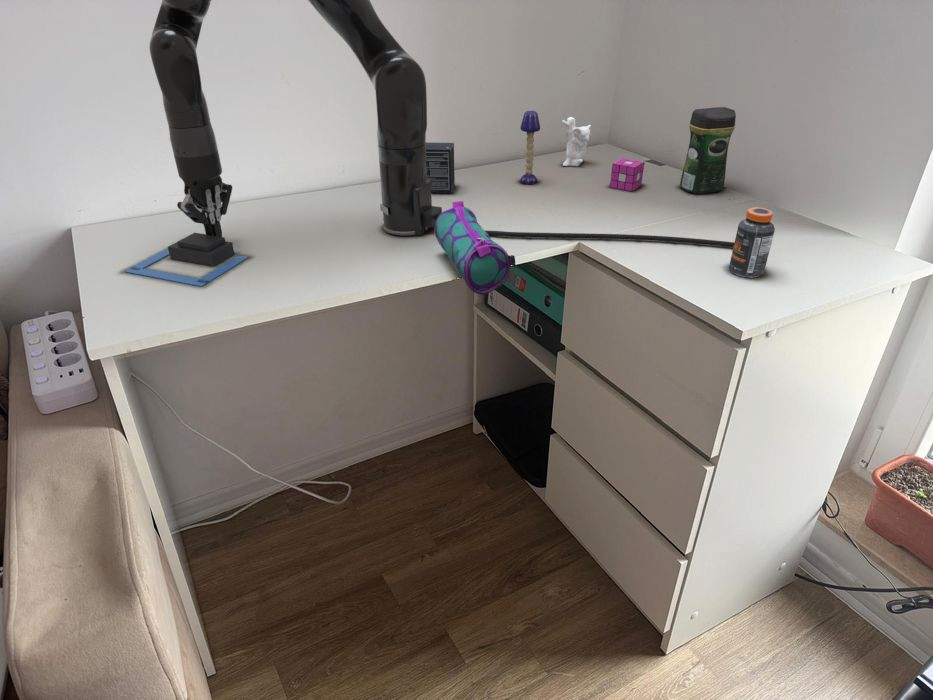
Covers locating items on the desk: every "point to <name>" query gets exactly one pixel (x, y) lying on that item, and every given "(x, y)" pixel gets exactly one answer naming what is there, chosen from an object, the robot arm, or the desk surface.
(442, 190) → the small box
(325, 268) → the desk surface
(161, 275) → the frame
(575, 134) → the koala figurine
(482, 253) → the pencil case
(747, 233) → the pill bottle
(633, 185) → the puzzle toy
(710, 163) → the coffee jar
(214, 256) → the dark raised-panel slab
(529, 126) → the toy lamp
